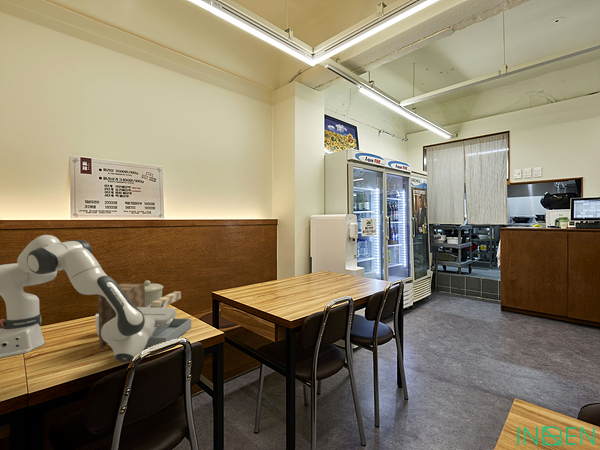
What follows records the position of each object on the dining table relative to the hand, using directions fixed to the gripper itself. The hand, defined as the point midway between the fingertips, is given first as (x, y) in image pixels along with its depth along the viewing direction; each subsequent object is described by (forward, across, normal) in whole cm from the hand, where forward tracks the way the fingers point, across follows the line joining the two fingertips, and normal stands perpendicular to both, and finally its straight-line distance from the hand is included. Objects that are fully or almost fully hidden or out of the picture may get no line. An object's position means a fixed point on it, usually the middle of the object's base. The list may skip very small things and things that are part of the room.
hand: (160, 302), depth 141 cm
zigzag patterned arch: (-9, +19, +17) cm, 27 cm away
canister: (+24, +31, +36) cm, 53 cm away
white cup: (-2, +35, +21) cm, 41 cm away
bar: (+4, 0, +5) cm, 7 cm away
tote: (-4, 0, +20) cm, 20 cm away
